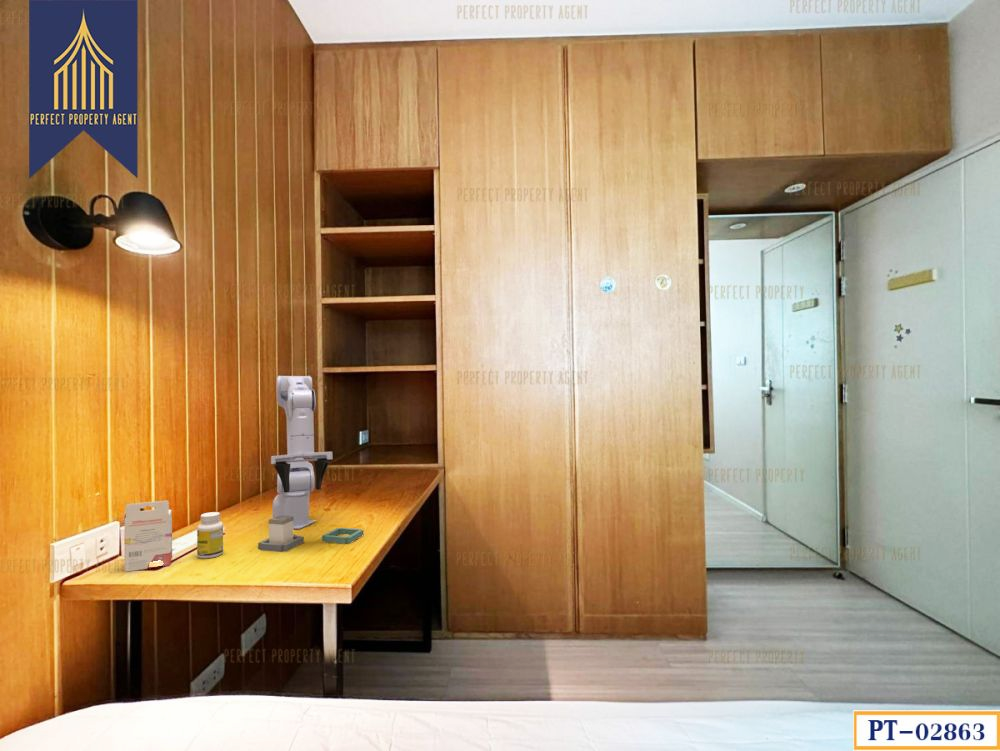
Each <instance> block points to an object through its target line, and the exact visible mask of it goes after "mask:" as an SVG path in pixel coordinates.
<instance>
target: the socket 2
mask: <svg viewBox="0 0 1000 751" xmlns="http://www.w3.org/2000/svg"><path fill="white" fill-rule="evenodd" d="M364 532H365V530H364V529H361V528H352V527H351V528H350V527H336V528H334V529H332V530H330V531H327V532H326V533H324V534H322V536H321V541H322V542H324V543H329V542H336V543H335V544H342V543H346V544H352V543H353V542H355V541H356V539H357V538H358V539H360V538H361V536H362V535H363V536H364ZM338 534H339V535H338ZM343 534H349V535H347V536H345V535H344V536H341V535H343ZM336 535H337V536H336ZM363 536H362V537H363ZM359 537H360V538H359ZM358 539H357V540H358ZM354 540H355V541H354ZM352 541H353V542H352ZM351 542H352V543H351Z"/></svg>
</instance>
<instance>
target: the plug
mask: <svg viewBox="0 0 1000 751" xmlns="http://www.w3.org/2000/svg"><path fill="white" fill-rule="evenodd" d="M293 520H294V516H281V515H279V516H277V517H274V518H273V517H272V518H269V519H268V526H269V527H268V538H269V543H276V544H286V543H288V542H290V541H292V540H293V535H294V529H293Z"/></svg>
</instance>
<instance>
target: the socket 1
mask: <svg viewBox="0 0 1000 751" xmlns="http://www.w3.org/2000/svg"><path fill="white" fill-rule="evenodd" d="M304 543H305V538H304V536H302V535H296V534H295V535H294V534H293V540H292V541H290V542H288V543H286V544H276V543H269V537H268V538H266V539H263V540H260V541H259V542H258V543H257V549H258V550H260V551H269V552H270V551H271V552H289V550H292V549H294V548H295V547H298V546H299V545H301V544H304Z"/></svg>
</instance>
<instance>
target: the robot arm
mask: <svg viewBox="0 0 1000 751" xmlns="http://www.w3.org/2000/svg"><path fill="white" fill-rule="evenodd" d="M316 398H317V397H316V393H315V389H313V377H311V375H278V376H277V377H276V402H277V405H278V406H279V407H281V408H283V409H284V413H285V416H286V448H287V449H286V450H287V452H286V453H287V454H281V455H272V456H270V464H271V465H274V469H275V471H276V473H277V475H276V477H277V478H276V484H277V485H276V486H277V487H276V488H277V489H276V490H277V493H278V494H277V495H275V497H274V499H273V502H272V518H274V517H277V516H279V515H281V516H294V520H293V530H301V529H303V528H305V527H307V526H310V525H312V524H315V522H316V519H310V495H311V492H313V491H314V489H315V490H316V491H319V490H322V483H323V479H324V476H325V473H326V471H327V469H328V467H329V464H330V460H333V451H318V452H315V427H314V426H315V424H314V423H315V422H314V419H315V418H314V417H315V416H314V415H315V414H314V412H315V409H316V404H317V403H316V400H317V399H316ZM310 462H314V466H313V463H310ZM314 470H315V471H314Z"/></svg>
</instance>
